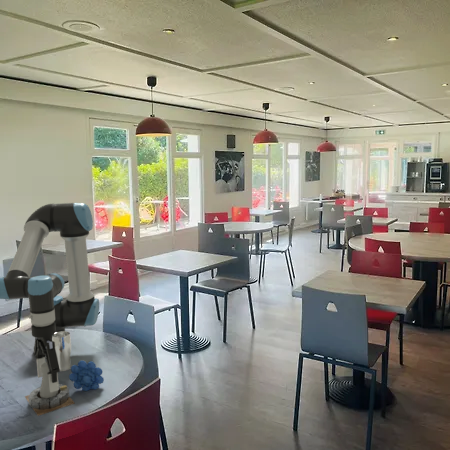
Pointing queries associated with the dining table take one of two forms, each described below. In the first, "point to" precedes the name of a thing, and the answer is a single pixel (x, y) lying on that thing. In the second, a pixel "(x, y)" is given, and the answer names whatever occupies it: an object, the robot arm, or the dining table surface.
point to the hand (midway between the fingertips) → (48, 383)
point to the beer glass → (63, 349)
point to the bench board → (40, 412)
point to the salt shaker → (46, 383)
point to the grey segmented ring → (48, 403)
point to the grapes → (86, 375)
